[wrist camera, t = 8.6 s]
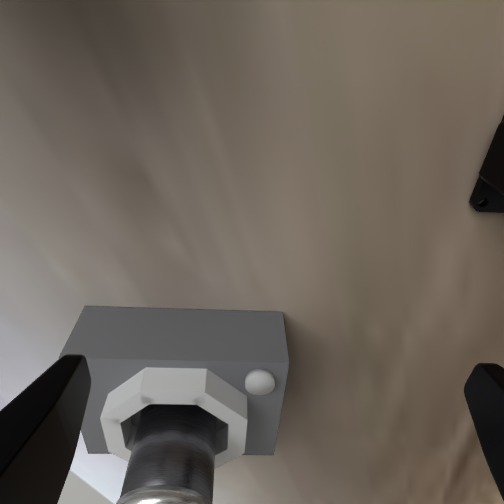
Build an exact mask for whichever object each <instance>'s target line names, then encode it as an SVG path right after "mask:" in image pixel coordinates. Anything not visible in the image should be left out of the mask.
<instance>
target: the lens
mask: <svg viewBox="0 0 504 504" xmlns="http://www.w3.org/2000/svg"><path fill="white" fill-rule="evenodd" d="M216 430H217V417H216V416H214V415H213V414H211V413H209V412H208V411H206V410H205V409H203V408H201V407H200V406H198V405H184V404H149V405H147V406H146V407H144V408H143V409H141V413H140V417H139V422H138V426H137V430H136V434H135V438H134V442H133V446H132V451H131V455H130V459H129V463H128V467H127V471H126V475H125V479H124V484H123V488H122V492H121V496H120V498H119V500H118V501H117V503H116V504H212V501H213V483H214V465H215V448H216Z"/></svg>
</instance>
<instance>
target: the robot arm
mask: <svg viewBox="0 0 504 504" xmlns="http://www.w3.org/2000/svg"><path fill="white" fill-rule="evenodd" d="M483 198H484V201H483V202H482V203H480V204H478V203H479V201H480V200H481V199H483ZM469 203H470V206H471V207H473V208H474V209H475V210H476V211H479V212H497V213H504V117H503V119H502V122H501V123H500V124H499V126H498V128H497V130H496V133H495V135H494V138H493V140H492V143H491V145H490V148H489V150H488V153H487V155H486V158H485V160H484V162H483V165H482V167H481V170H480V172H479V178H478V180H477V183H476V185H475V188H474V190H473V193H472V195H471V197H470V201H469ZM90 389H91V376H90V372H89V368H88V364H87V360H86V357H85V356H84V355H82V354H66V355H64V356H62V357H61V358H60V359H59V360H58V361H56V362H55V363H54V364H53V365H52V366H51V367H50V368H48V369H47V370H46V371H45V372H44V373H43V374H42V375H41V376H39V377H38V378H37V379H36V380H35V381H34V382H33V383H31V384H30V385H29V386H28V387H27V388H26V389H25V390H24V391H22V392H21V393H20V394H19V395H18V396H17V397H16V398H14V399H13V400H12V401H11V402H10V403H9V404H8V405H7V406H5V407H4V408H3V409H2V410H1V411H0V504H57V503H58V500H59V497H60V495H61V492H62V489H63V486H64V484H65V481H66V478H67V475H68V472H69V470H70V467H71V464H72V461H73V458H74V454H75V450H76V447H77V443H78V439H79V434H80V430H81V426H82V422H83V418H84V414H85V410H86V406H87V402H88V398H89V394H90ZM464 394H465V398H466V401H467V404H468V407H469V410H470V413H471V416H472V419H473V422H474V426H475V429H476V432H477V435H478V438H479V441H480V444H481V447H482V450H483V453H484V456H485V458H486V461H487V463H488V466H489V468H490V471H491V473H492V475H493V478H494V480H495V482H496V485H497V487H498V489H499V491H500V494H501V496H502V498H503V501H504V368H502V367H501V366H499V365H497V364H494V363H479V364H477V365H476V366H475V367H474V369H473V371H472V373H471V374H470V376H469V378H468V380H467V382H466V383H465V386H464Z"/></svg>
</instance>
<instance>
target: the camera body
mask: <svg viewBox="0 0 504 504" xmlns="http://www.w3.org/2000/svg"><path fill="white" fill-rule="evenodd" d="M66 354H82V355H84V356H85V357H86V360H87V364H88V368H89V372H90V376H91V389H90V394H89V398H88V402H87V406H86V410H85V414H84V418H83V422H82V426H81V432H82V435H83V438H84V441H85V445H86V448H87V451H88V454H114V455H116V456H118V457H120V458H122V459H124V460H126V461H128V462H129V459H130V455H131V451H132V446H133V442H134V438H135V434H136V430H137V426H138V422H139V417H140V413H141V409H143V408H144V407H146V406H147V405H149V404H184V405H198V406H200V407H201V408H203V409H205V410H206V411H208V412H209V413H211V414H213V415H214V416H216V417H217V430H216V448H215V465H214V469H215V468H217V467H219V466H221V465H223V464H224V463H226V462H228V461H230V460H232V459H234V458H236V457H238V456H240V455H274V450H275V444H276V439H277V433H278V427H279V421H280V415H281V409H282V403H283V398H284V392H285V386H286V380H287V374H288V368H289V356H288V349H287V341H286V334H285V326H284V319H283V312H265V311H231V310H198V309H165V308H132V307H99V306H85V307H84V309H83V311H82V313H81V315H80V317H79V319H78V321H77V323H76V325H75V327H74V329H73V331H72V332H71V334H70V336H69V338H68V340H67V342H66V344H65V346H64V348H63V350H62V352H61V354H60V356H59V359H60V358H61V357H62V356H64V355H66Z"/></svg>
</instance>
